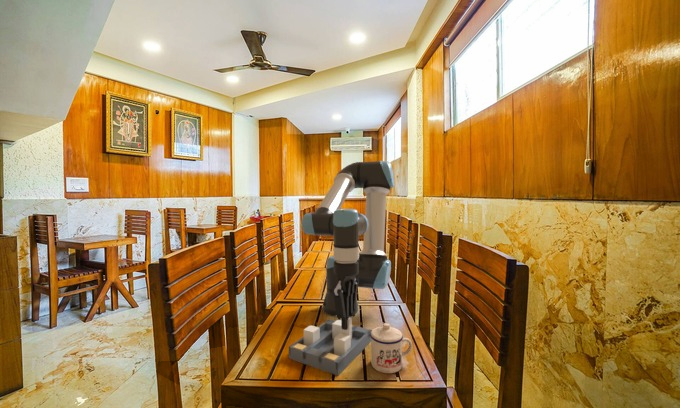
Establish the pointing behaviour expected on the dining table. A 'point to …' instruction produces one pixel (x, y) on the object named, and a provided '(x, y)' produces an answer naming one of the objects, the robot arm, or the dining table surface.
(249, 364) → the dining table surface
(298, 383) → the dining table surface
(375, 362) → the teacup with lid
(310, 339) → the tab
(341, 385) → the dining table surface
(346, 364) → the switch bank
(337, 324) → the tab
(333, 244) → the robot arm
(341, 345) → the tab
